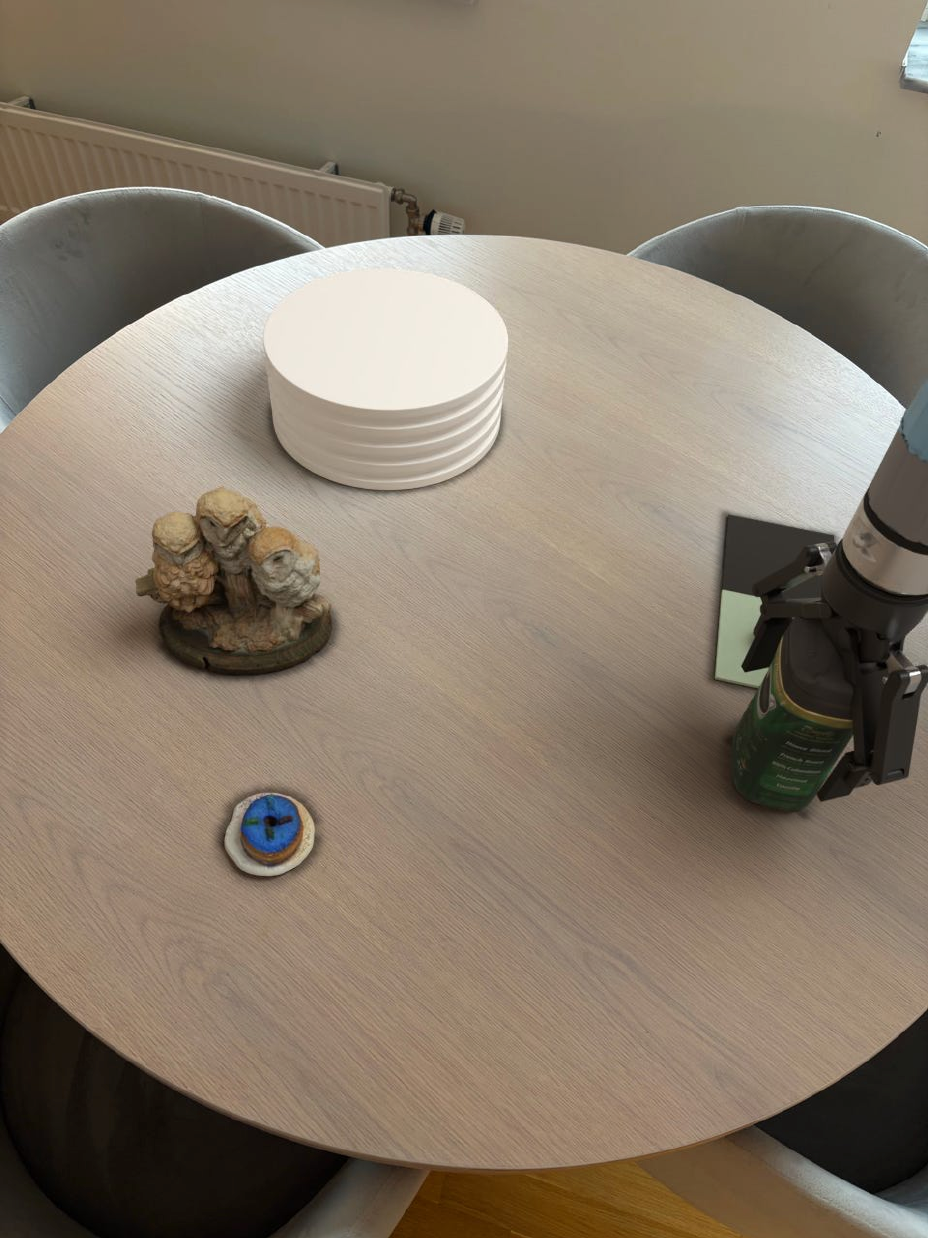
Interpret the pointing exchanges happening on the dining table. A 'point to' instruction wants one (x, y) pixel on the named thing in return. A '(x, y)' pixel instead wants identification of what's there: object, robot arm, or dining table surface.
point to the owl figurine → (235, 588)
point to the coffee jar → (794, 721)
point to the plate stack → (385, 377)
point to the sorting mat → (746, 562)
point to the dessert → (269, 834)
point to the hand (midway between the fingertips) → (792, 727)
